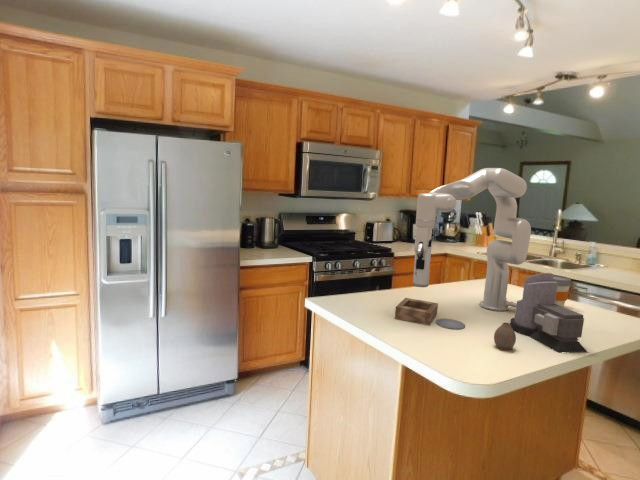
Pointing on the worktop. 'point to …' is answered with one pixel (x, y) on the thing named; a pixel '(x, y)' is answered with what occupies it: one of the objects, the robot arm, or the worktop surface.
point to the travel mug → (423, 275)
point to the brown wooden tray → (416, 311)
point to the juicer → (547, 316)
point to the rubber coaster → (450, 324)
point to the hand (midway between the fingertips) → (421, 267)
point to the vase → (505, 337)
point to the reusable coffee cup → (561, 289)
